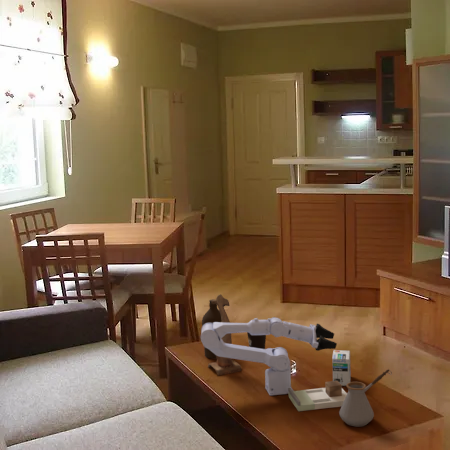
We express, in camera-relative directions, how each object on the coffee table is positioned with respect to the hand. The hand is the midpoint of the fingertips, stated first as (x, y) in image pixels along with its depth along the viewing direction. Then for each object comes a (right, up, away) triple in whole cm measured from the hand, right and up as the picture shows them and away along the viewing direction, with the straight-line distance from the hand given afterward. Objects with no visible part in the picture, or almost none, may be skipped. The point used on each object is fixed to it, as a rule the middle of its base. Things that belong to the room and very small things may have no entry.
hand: (334, 340), depth 253 cm
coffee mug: (-27, -13, +48) cm, 56 cm away
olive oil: (-45, -14, +45) cm, 65 cm away
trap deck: (-7, -20, -8) cm, 23 cm away
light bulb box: (+4, -17, +10) cm, 20 cm away
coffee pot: (+7, -22, -23) cm, 33 cm away
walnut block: (-2, -18, -8) cm, 20 cm away
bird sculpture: (-41, -17, +27) cm, 52 cm away
